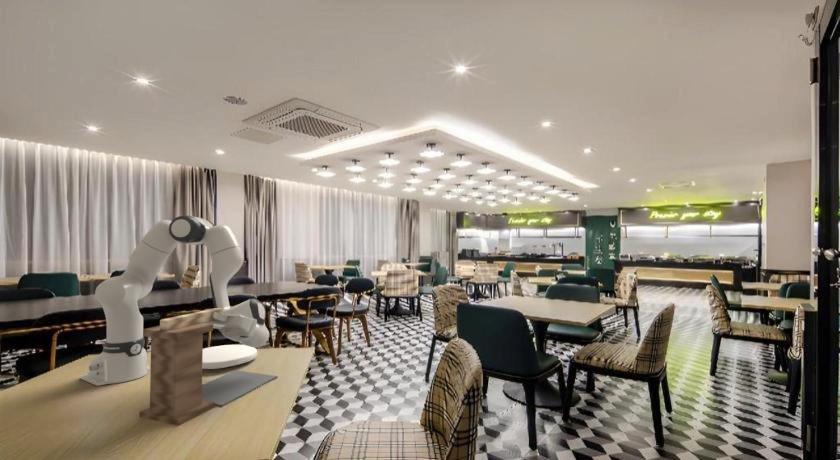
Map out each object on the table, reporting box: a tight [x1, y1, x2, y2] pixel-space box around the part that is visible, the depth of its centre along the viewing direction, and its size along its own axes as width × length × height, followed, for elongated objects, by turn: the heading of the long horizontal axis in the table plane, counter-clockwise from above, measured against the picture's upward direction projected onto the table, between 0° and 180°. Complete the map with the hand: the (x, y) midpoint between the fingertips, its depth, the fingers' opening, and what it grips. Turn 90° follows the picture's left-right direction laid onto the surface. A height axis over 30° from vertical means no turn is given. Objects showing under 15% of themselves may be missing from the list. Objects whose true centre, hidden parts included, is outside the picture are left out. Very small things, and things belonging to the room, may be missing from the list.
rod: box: [159, 308, 223, 331], centre depth 120 cm, size 20×3×3 cm, turn 162°
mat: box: [202, 369, 279, 408], centre depth 134 cm, size 20×26×1 cm
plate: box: [202, 344, 258, 370], centre depth 160 cm, size 28×6×27 cm
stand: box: [138, 323, 215, 426], centre depth 115 cm, size 16×12×26 cm
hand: (207, 313), depth 125 cm, fingers closed on rod, 3 cm apart
